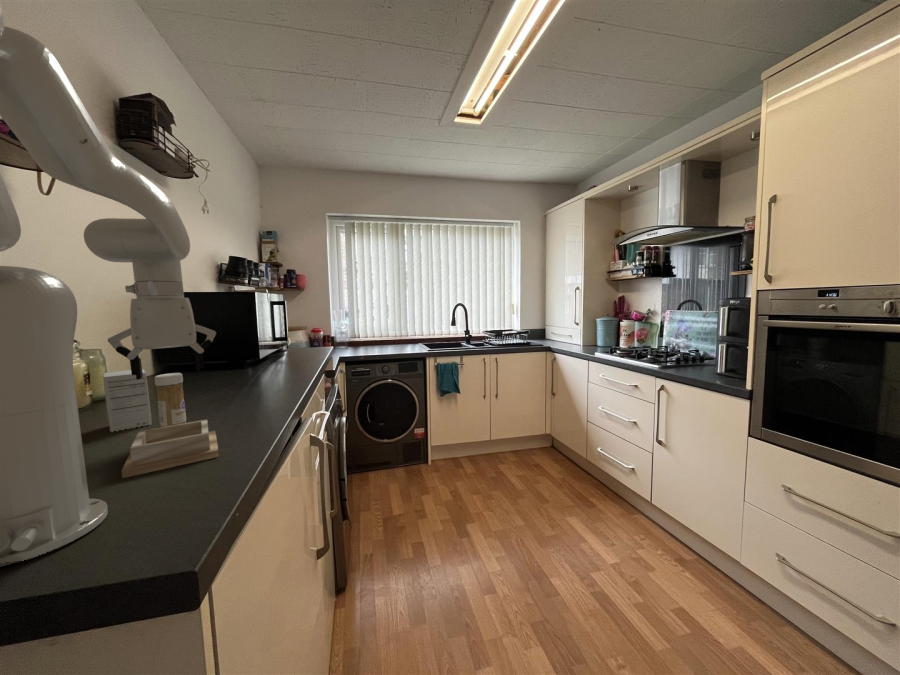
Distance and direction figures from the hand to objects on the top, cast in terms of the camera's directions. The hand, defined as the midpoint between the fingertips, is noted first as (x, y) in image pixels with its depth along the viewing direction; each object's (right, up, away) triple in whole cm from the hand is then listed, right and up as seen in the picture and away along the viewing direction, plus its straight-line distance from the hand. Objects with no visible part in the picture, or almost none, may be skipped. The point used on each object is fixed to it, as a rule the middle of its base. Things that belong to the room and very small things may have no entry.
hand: (170, 374), depth 75 cm
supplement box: (-17, -13, +10) cm, 24 cm away
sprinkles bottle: (+1, -13, +1) cm, 13 cm away
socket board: (+7, -14, -8) cm, 18 cm away
